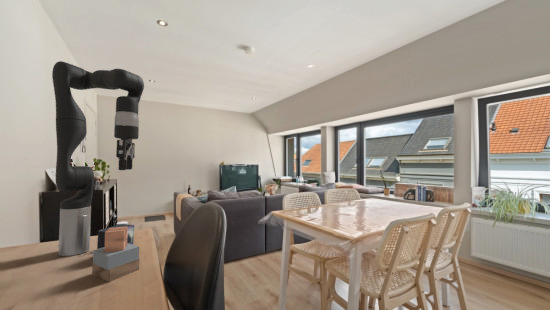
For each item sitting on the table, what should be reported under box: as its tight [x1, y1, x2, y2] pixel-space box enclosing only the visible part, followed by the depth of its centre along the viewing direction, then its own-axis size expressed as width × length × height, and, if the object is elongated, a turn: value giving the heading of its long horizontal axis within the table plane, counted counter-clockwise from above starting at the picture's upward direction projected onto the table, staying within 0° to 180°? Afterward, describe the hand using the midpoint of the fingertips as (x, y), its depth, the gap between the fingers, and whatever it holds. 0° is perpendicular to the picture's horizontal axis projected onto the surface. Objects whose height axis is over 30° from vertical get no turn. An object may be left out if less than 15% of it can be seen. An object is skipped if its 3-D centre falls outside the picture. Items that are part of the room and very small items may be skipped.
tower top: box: [92, 243, 140, 270], centre depth 74 cm, size 9×9×4 cm
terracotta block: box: [104, 227, 128, 252], centre depth 74 cm, size 5×5×6 cm
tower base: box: [91, 257, 140, 283], centre depth 74 cm, size 9×9×4 cm
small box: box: [96, 223, 135, 249], centre depth 88 cm, size 11×6×10 cm, turn 168°
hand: (125, 169), depth 85 cm, fingers open, 8 cm apart
